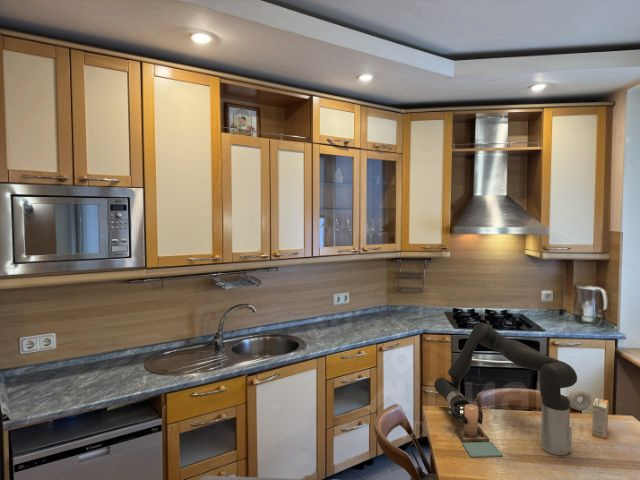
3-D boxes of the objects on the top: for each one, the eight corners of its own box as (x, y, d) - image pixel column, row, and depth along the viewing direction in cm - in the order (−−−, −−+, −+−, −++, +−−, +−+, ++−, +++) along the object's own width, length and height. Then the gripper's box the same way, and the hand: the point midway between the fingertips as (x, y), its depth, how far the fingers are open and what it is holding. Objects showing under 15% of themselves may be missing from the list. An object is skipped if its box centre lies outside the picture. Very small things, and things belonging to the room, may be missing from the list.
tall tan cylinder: (474, 432, 173) (475, 403, 172) (480, 439, 167) (480, 409, 167) (462, 432, 172) (462, 404, 172) (467, 439, 167) (467, 410, 166)
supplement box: (593, 427, 176) (595, 397, 175) (607, 431, 173) (608, 400, 172) (591, 435, 169) (592, 404, 169) (605, 439, 166) (606, 407, 165)
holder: (478, 429, 175) (478, 426, 175) (489, 442, 165) (489, 438, 165) (454, 430, 174) (454, 426, 174) (463, 443, 165) (463, 439, 164)
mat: (492, 443, 164) (492, 441, 164) (503, 456, 155) (503, 455, 155) (461, 444, 164) (461, 442, 164) (471, 457, 155) (471, 456, 155)
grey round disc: (570, 412, 190) (571, 390, 189) (566, 408, 193) (566, 387, 192) (592, 412, 189) (593, 390, 189) (588, 408, 193) (588, 387, 192)
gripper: (442, 395, 183) (456, 413, 166) (474, 394, 184) (491, 412, 167) (441, 411, 184) (456, 431, 167) (474, 411, 184) (491, 430, 167)
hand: (473, 422), depth 167 cm, fingers closed on tall tan cylinder, 5 cm apart
